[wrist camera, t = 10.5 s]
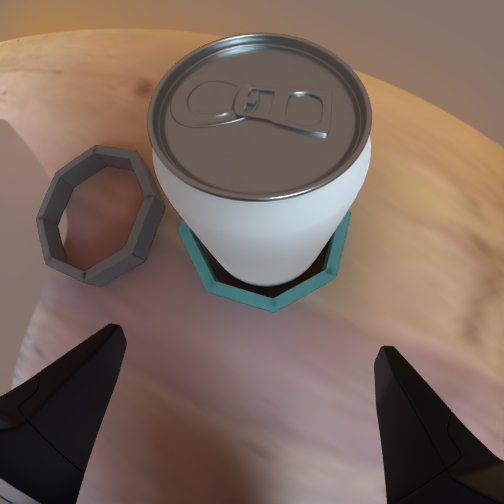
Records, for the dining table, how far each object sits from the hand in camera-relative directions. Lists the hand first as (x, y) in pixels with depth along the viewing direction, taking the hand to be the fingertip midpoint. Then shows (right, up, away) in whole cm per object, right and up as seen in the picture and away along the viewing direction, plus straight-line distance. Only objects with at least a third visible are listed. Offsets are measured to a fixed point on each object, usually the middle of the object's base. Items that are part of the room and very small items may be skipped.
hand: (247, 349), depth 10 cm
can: (+1, +4, +9) cm, 10 cm away
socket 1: (-10, +6, +10) cm, 15 cm away
